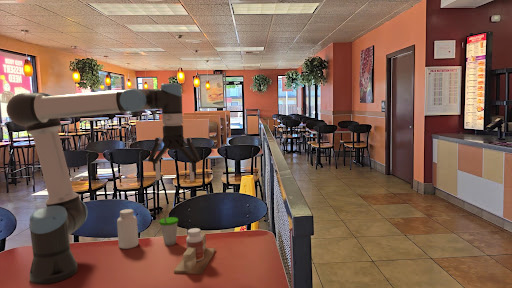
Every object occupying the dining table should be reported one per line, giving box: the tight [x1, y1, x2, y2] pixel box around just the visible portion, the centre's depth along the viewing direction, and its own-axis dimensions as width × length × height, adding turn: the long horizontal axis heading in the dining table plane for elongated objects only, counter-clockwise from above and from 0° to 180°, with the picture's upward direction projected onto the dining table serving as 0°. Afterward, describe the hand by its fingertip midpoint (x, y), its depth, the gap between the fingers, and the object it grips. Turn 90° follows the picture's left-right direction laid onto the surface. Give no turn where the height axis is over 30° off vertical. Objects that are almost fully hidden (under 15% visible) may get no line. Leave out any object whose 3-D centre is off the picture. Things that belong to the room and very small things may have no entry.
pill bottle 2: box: [185, 227, 204, 261], centre depth 144 cm, size 6×6×11 cm
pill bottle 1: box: [116, 208, 139, 250], centre depth 162 cm, size 8×8×15 cm
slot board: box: [173, 233, 216, 275], centre depth 145 cm, size 10×20×7 cm, turn 172°
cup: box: [158, 211, 179, 247], centre depth 162 cm, size 8×8×15 cm
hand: (175, 180), depth 149 cm, fingers open, 13 cm apart
